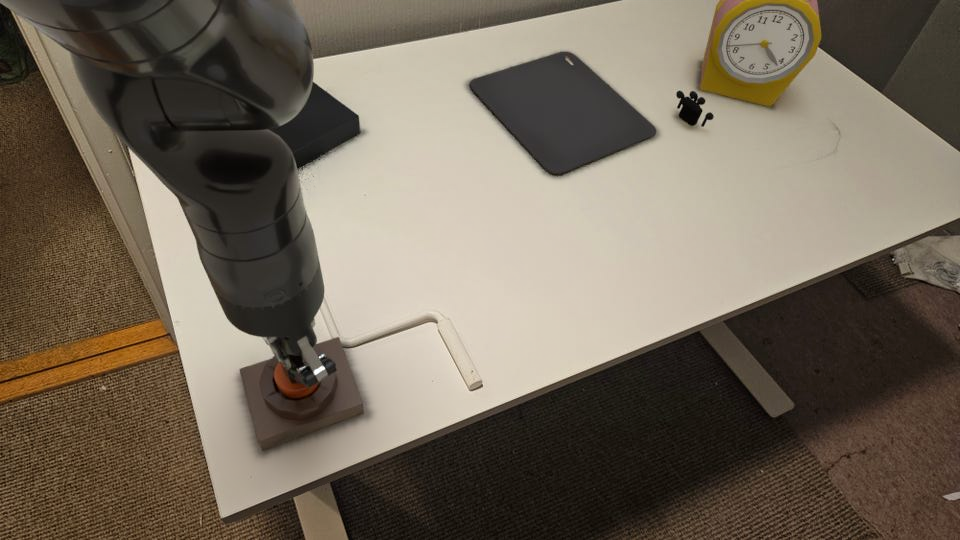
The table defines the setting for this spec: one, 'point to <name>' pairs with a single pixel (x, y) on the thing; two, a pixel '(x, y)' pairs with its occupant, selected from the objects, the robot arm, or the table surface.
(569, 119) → the mouse pad
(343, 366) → the button block
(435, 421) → the table surface
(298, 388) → the button
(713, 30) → the alarm clock
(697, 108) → the wireless earbuds
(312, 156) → the stove panel
